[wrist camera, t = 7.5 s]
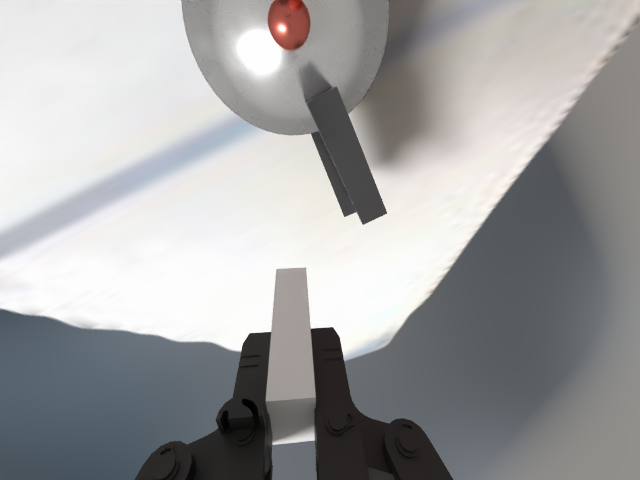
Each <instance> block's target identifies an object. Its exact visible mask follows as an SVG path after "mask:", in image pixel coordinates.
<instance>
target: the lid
mask: <svg viewBox="0 0 640 480" xmlns="http://www.w3.org/2000/svg"><path fill="white" fill-rule="evenodd" d="M181 1H182V11H183V19H184V24H185V29H186V34H187V37H188V41H189V44H190V47H191V50H192V53H193V55H194V57H195V60H196V62H197V64H198V67H199V68H200V70H201V72H202V74H203V76H204V78H205V79H206V81H207V82H208V84H209V85H210V87H211V88H212V90H213V91H214V92H215V94H216V95H217V96H218V97H219V98H220V99H221V100H222V102H223V103H224V104H225V105H226V106H227V107H229V108H230V109H231V110H232V111H233V112H234V113H235V114H237V115H238V116H239V117H241V118H242V119H244V120H245V121H247V122H249V123H250V124H252V125H254V126H256V127H258V128H261V129H263V130H266V131H269V132H273V133H277V134H284V135H303V134H310V133H314V132H317V131H319V133H320V135H321V137H322V139H323V141H324V143H325V146H326V148H327V150H328V152H329V154H330V156H331V159H332V161H333V163H334V165H335V167H336V169H337V171H338V174H339V176H340V178H341V180H342V182H343V184H344V186H345V189H346V191H347V193H348V195H349V197H350V199H351V201H352V204H353V206H354V208H355V210H356V212H357V214H358V216H359V218H360V220H361V222H362V224H363V225H364V224H366V223H368V222H370V221H372V220H374V219H376V218H378V217H381V216H383V215H385V214H387V212H386V209H385V207H384V204H383V201H382V199H381V196H380V194H379V191H378V189H377V186H376V184H375V181H374V179H373V176H372V174H371V171H370V169H369V166H368V164H367V161H366V158H365V156H364V153H363V151H362V148H361V146H360V143H359V141H358V138H357V136H356V133H355V131H354V128H353V126H352V123H351V121H350V118H349V115H348V113H350V112H351V111H352V110H353V109H354V108H355V107H356V105H357V104H358V103H359V102H360V101H361V100H362V98H363V97H364V95H365V94H366V93H367V91H368V89H369V88H370V86H371V84H372V82H373V81H374V79H375V76H376V74H377V72H378V69H379V67H380V64H381V61H382V58H383V54H384V51H385V46H386V41H387V35H388V25H389V0H181Z"/></svg>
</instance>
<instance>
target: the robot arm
mask: <svg viewBox="0 0 640 480" xmlns="http://www.w3.org/2000/svg"><path fill="white" fill-rule="evenodd" d="M216 422H217V425H218V429H217V430H215V431H214V432H213V433H211V434H209V435H208V436H205V437H203V438H201V439H199V440H197V441H194V442H192V443H190V444H188V445H187V444H185V443H183V442H181V441H173V442H169V443H167V444H165V445H162V446H161V447H160V448H158V449H157V450H156V451H154V452H153V453H152V454H151V455H150V457H149V458H148V459H147V461H146V462H145V463H144V465H143V466H142V468H141V470H140V471H139V473H138V475H137V477H136V479H135V480H272V468H273V466H272V442H273V445H274V444H284V443H293V442H303V441H313V440H315V449H316V472H317V480H453V478H452V477H451V475H450V473H449V472H448V470H447V468H446V467H445V465H444V463H443V462H442V460H441V458H440V457H439V455H438V453H437V452H436V450H435V448H434V447H433V445H432V443H431V442H430V440H429V438H428V437H427V435H426V434H425V432H424V431H423V430H422V429H421V428H420V427H419V426H418V425H417V424H415V423H414V422H413V421H410V420H407V419H403V418H402V419H395V420H394V421H392V422H391V423H390V424H388V423H385V422H381V421H378V420H374V419H371V418H368V417H366V416H365V415H363V414H362V413H360V411H358V409H357V408H356V407H355V405H354V403H353V402H352V399H351V396H350V390H349V385H348V380H347V374H346V369H345V364H344V360H343V353H342V348H341V343H340V337H339V336H338V334H337V333H336V331H335V330H334V328H333V327H330V328H315V329H310V315H309V302H308V289H307V276H306V268H291V269H277V270H276V282H275V294H274V306H273V318H272V330H271V332H264V333H250V334H249V335H248V337H247V339H246V340H245V342H244V343H243V346H242V351H241V358H240V362H239V369H238V373H237V378H236V383H235V388H234V394H233V398H232V399H231V400H229V401H228V402H226V403H225V404H224V405H223V407H222V408H221V409H220V411H219V413H218V415H217V418H216Z"/></svg>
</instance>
